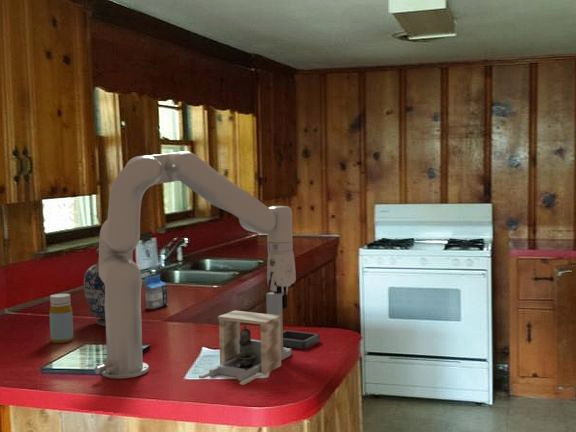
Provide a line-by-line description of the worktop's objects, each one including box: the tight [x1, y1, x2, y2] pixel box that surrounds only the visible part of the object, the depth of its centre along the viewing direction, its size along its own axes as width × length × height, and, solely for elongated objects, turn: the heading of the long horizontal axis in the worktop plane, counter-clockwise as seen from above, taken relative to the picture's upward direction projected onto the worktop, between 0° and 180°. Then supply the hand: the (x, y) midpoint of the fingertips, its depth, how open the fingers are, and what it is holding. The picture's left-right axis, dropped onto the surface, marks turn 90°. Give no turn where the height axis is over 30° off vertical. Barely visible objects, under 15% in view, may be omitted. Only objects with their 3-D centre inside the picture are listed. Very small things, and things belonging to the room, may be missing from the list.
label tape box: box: [144, 274, 169, 310], centre depth 271 cm, size 9×4×12 cm, turn 148°
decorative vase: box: [83, 247, 106, 327], centre depth 245 cm, size 21×19×28 cm
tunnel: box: [217, 310, 282, 375], centre depth 191 cm, size 8×16×14 cm, turn 61°
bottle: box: [48, 293, 74, 344], centre depth 221 cm, size 7×7×15 cm
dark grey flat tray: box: [283, 329, 321, 350], centre depth 214 cm, size 10×12×2 cm
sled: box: [208, 291, 292, 382], centre depth 192 cm, size 28×10×18 cm, turn 151°
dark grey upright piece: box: [235, 325, 256, 371], centre depth 189 cm, size 6×6×12 cm
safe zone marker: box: [198, 370, 263, 386], centre depth 183 cm, size 9×14×1 cm, turn 61°
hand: (281, 307), depth 206 cm, fingers closed
